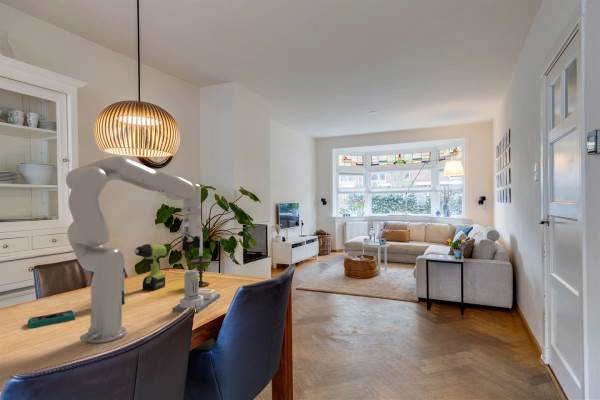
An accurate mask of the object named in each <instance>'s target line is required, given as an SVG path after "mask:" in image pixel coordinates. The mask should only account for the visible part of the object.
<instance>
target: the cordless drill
mask: <svg viewBox="0 0 600 400" xmlns="http://www.w3.org/2000/svg"><path fill="white" fill-rule="evenodd" d="M133 252H134V253H135V256H138V257H142V258H144V259H146V260H147V264H149V265H150V273H149V274H148V275H146V276H145V277H144V278H143V281H142V291H144V292H145V291H146V292H147V291H148V292H155V291H157V290H160V289H162V288H165V287H166V273H164V272H162V271H161V264H160V263H161V262H160V258H161V257H165V256H166V255H167V247H166V246H165V245H163V244H154V243H153V244H152V243H151V244H149V243H146V244H143V245H141V246H137V247H136V248H135V250H134V251H133Z"/></svg>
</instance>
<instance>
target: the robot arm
mask: <svg viewBox="0 0 600 400" xmlns="http://www.w3.org/2000/svg"><path fill="white" fill-rule="evenodd" d="M112 180H113V181H117V180H119V181H122V182H125V183H127V184H129V185H132V186H135V187H137V188H139V189H143V190H147V191H153V192H163V194H164V196H165V197H166V198H167V199H169V200H173V201H180V200H181V201H182V200H183V201H182V202H183V203H182V207H183V208H182V215H183V218H182V227H181V232H180V239H181V242H182V244H181V245H182V248H181V249H182V251H183V252H184V251H185V252H190V251H191V250H190V249H191V241H190V240H191V238H193V239H192V241H193V242H192V248H193V249H199V248H200V239H201V237H200V236H201V234H202V232H203V231H202V230H203V224H202V217H201V212H202V210H201V209H202V205H201V204H202V203H201V202H202V200H201V198H202V194H201V193H202V191H201V190H202V186H201V185H200V184H197V183H192V182H190V181H188V180H186V179H184V178H182V177H180V176H177V175H173V174H170V173H166V172H164V171H161V170H157V169H153V168H150V167H148V166H146V165H144V164H141V163H139V162H137V161H134V160H133V159H130V158H128V157H126V156H125V157H124V156H119V155H118V156H111V157H106V158H103V159H100V160H97V161H95V162H92V163H91V162H90V163H88V164H86V165H82V166H78V167H75V168H74V169H71V170H70V171H69V172H68V173H67V175H66V177H65V183H66V185H67V187H68V188H69V189H70V193H69V197H68V208H69V212H70V215H71V217H72V219H73V222H71V223H70V224H69V226H68V229H67V238H68V242H69V244H70V246H71V249H72V251H73V252H74V255H75V257H76V259H77V261H78V263H79V265H80V266H81V267H82V268H83V269H84V270H85V271H86V270H87V271H88V272H89V271H90V272H93V276H92V279H91V283H90V326H89V327H88V331H87V332H86V333H83V334H81V335H80V336H79V340H80V341H81V342H84V341H86V342H87V343H89V344H90V343H92V344H100V343H107V342H112V341H115V340H118V339H120V338H122V337H124V336H125V335H126V334H127V330H128V329H127V328H126V327H125V326H123V323H122V322H123V321H122V319H123V317H122V316H123V313H122V312H123V309H122V308H123V307H122V306H123V305H122V274H123V271H124V268H125V262H126V261H125V256H124V255H125V254H124V253H123V252H122V251H121V249H118V248H116V247H114V246H108V245H105V244H107V242H108V241H109V239H110V237H111V231H110V228H109V225H108V224H107V221H106V219H105V216H104V214H103V212H102V208H101V207H100V202H99V200H100V199H99V198H100V195H101V193H102V191H103V189H104V188H105V187H106V185H107V183H108V182H110V181H112Z"/></svg>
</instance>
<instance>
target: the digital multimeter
mask: <svg viewBox="0 0 600 400" xmlns="http://www.w3.org/2000/svg"><path fill="white" fill-rule="evenodd" d="M75 319H76V313H75V312H74V311H73V310H66V311H65V310H64V311H61V312H55V313H50V314H46V315H45V314H44V315H39V316H32V317H30V318H29V319H28V320H27V327H28V328H29V329H35V328H39V327H44V326H49V325H50V326H51V325H54V324H59V323H65V322H70V321H75Z"/></svg>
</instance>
